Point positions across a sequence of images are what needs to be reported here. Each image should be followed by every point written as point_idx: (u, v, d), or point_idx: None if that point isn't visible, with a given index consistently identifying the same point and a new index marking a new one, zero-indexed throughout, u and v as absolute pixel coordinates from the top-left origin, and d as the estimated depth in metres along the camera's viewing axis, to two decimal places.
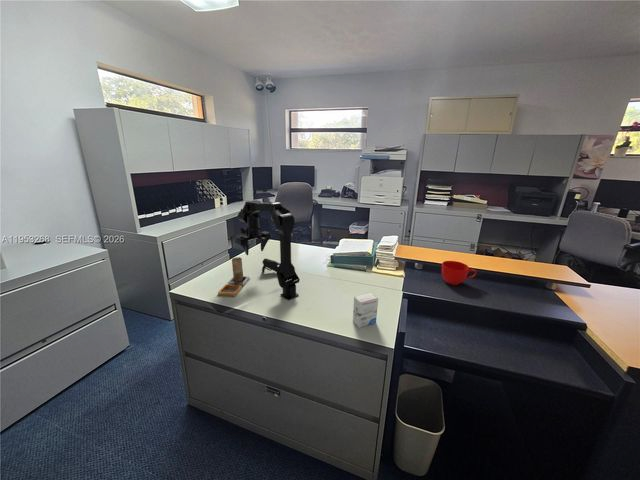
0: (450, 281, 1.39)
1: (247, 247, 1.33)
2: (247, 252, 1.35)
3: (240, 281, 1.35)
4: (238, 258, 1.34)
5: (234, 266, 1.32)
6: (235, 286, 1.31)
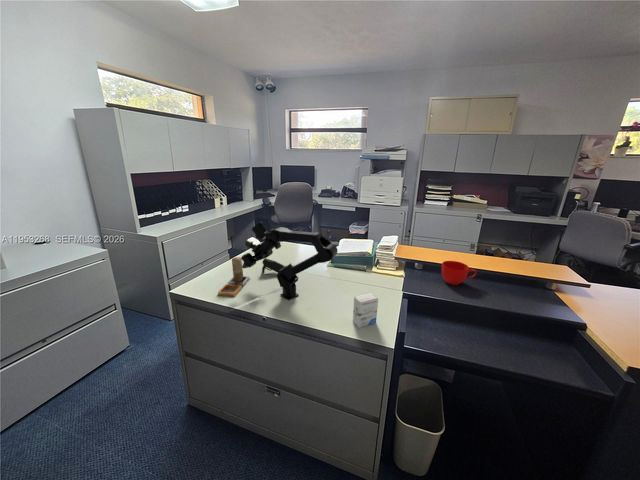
0: (450, 281, 1.39)
1: None
2: (246, 267, 1.26)
3: (240, 281, 1.35)
4: (238, 258, 1.34)
5: (234, 266, 1.32)
6: (235, 286, 1.31)
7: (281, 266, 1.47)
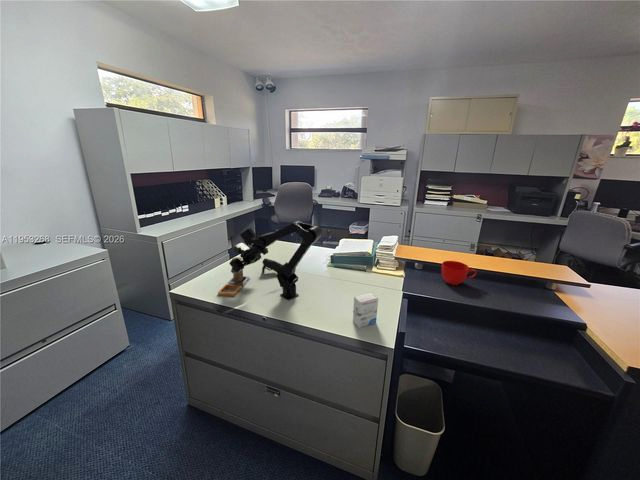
0: (450, 281, 1.39)
1: None
2: (234, 272, 1.29)
3: (240, 281, 1.35)
4: (238, 258, 1.34)
5: None
6: (235, 286, 1.31)
7: None
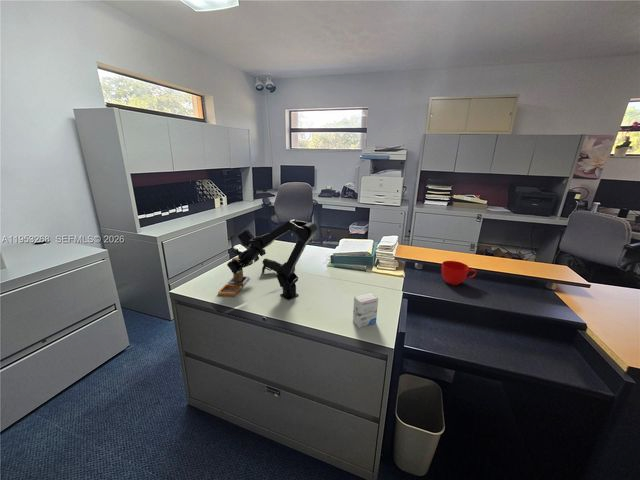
0: (450, 281, 1.39)
1: None
2: None
3: (240, 281, 1.35)
4: (238, 258, 1.34)
5: None
6: (235, 286, 1.31)
7: None
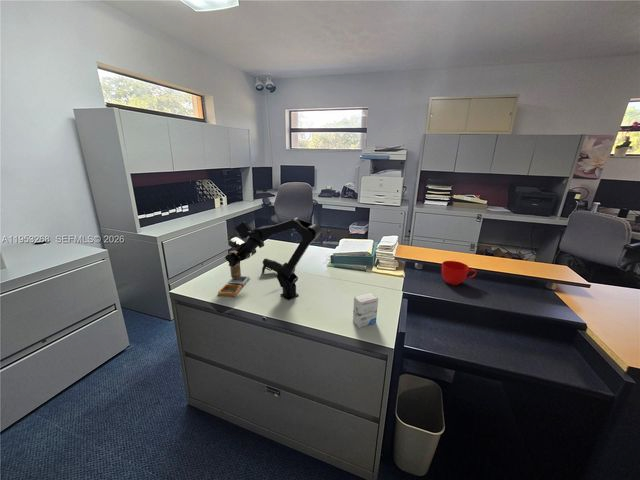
0: (450, 281, 1.39)
1: None
2: None
3: (238, 275, 1.32)
4: (235, 251, 1.31)
5: None
6: (235, 286, 1.31)
7: None
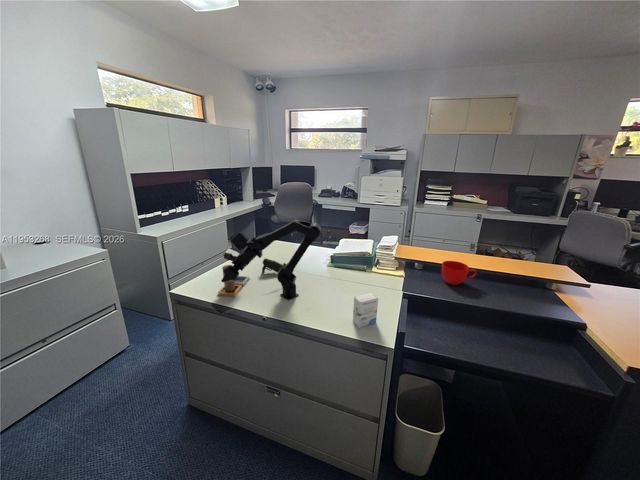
0: (450, 281, 1.39)
1: None
2: None
3: (233, 290, 1.26)
4: None
5: None
6: (235, 286, 1.31)
7: (281, 266, 1.47)
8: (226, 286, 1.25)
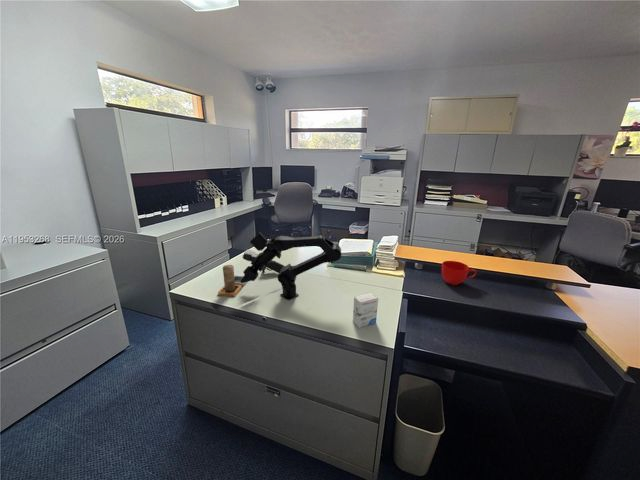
0: (450, 281, 1.39)
1: None
2: (245, 281, 1.20)
3: (233, 290, 1.26)
4: (229, 266, 1.25)
5: (227, 275, 1.23)
6: (235, 286, 1.31)
7: (281, 266, 1.47)
8: (226, 286, 1.25)
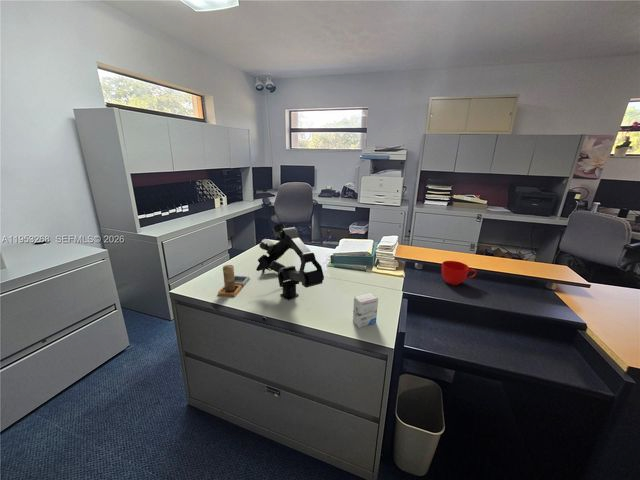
0: (450, 281, 1.39)
1: None
2: None
3: (233, 290, 1.26)
4: (229, 266, 1.25)
5: (227, 275, 1.23)
6: (235, 286, 1.31)
7: (281, 266, 1.47)
8: (226, 286, 1.25)
